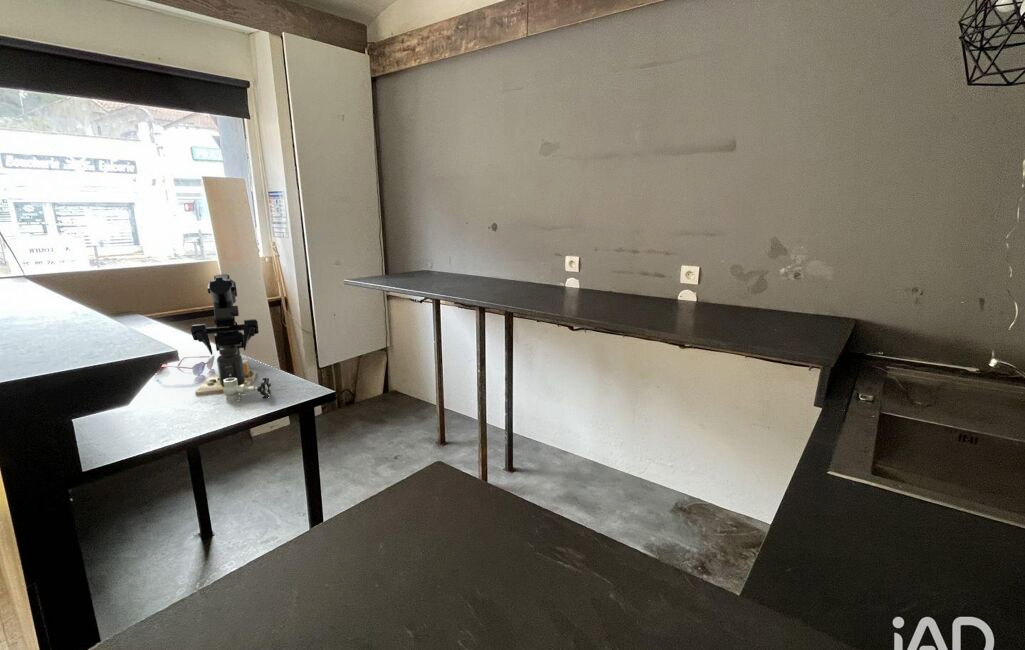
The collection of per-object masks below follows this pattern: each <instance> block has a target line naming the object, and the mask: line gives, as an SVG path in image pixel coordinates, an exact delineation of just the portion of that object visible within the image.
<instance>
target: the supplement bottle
mask: <svg viewBox="0 0 1025 650" xmlns="http://www.w3.org/2000/svg"><path fill="white" fill-rule="evenodd" d="M218 352H219V353H218V354H219V356H218V357H217V358H216V366H217V371H218V372H217V373H218V375H219V379H220V384H221V386H223V387H225V386H224V382H223V380H225V379H227V378H237V381H238V385H241V384H243V383H244V382H245V376H244V368H243V361H242V360H243V356H242V355H241V353H240V354H238V353H237V352H238V350H237V346H236V345H226V346H222V347H220V348H219V351H218Z"/></svg>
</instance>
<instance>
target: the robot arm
mask: <svg viewBox="0 0 1025 650" xmlns="http://www.w3.org/2000/svg"><path fill="white" fill-rule="evenodd" d="M213 278H214V279H210V280H209V282H208V283H207V294H209V295H211V296H210V297H211V299H212V305H213V313H214V316H213V324H214V326H210V327H207V326H206V323H199V324H192V325H191V327H190V333H191V335H192V339H193V340H194V341H198V342H199V343H203V344H204V345H205V347H206V349H207V350H208V351H209V354H210V355H211V356H212V355H213V349H212V344H211V342H210V338H209V334H213V336H214V344H215V348H216V352H219V348H220V347H222V346H226V345H236V346H237V350H238V352H237V353H238V354H240V355H241V349H243V351H244V352H245V351H246V350H247V347H248V344H249V341H250V340H251V339H252V338H253V337H254V336H256V334H259V331H260V330H259V324H258V320H257V319H255V318H252V319H250V318H249V319H243V324H238V322H237V321H236V317H239V316H240V313H239V306H238V305H234V304H235V303H236V302H237V299H236V297H238V291H237V282H235V281H234V280H233V279H231V278H230V274H227V273H225V274H223V273H221V274H215V275H213ZM242 331H243V332H242ZM242 360H245V359H243V358H242Z"/></svg>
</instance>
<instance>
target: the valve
mask: <svg viewBox="0 0 1025 650" xmlns="http://www.w3.org/2000/svg"><path fill="white" fill-rule="evenodd" d="M262 381H263V382H261V383H260V385H257V386H255V385H251V386H249V387H248V386H246V385H245V384H243V385H241V386H238V381H237V378H227V379H225V380H223V382H224V386H225V387H224V390H223V391H224V393H223V394H224V396H225V401H226V403H228V404H229V403H230V404H231V403H236V402H238V400H239V401H240V400H241V396H240V395H246V394H247V393H248V392H249V393H255V392H256V391H257V392H258V393H260V395H262V396H261V397H262V399H264V400H267V399H266V398H268V397H269V398H270V394H272V391H271V387H272V383H271V382H270V378H269V377H263V378H262Z"/></svg>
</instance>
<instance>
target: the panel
mask: <svg viewBox="0 0 1025 650" xmlns="http://www.w3.org/2000/svg"><path fill="white" fill-rule="evenodd" d="M244 376H245V382H244V383H243V384H245V385H246V386H248V387H249V386H250V385H251V384H253V383H254V381H255V380H256V378H257V377H258V372H257V371H253V370H250V373H249V375H244ZM256 376H257V377H256ZM255 377H256V378H255ZM254 379H255V380H254ZM252 382H253V383H252ZM243 384H241V385H243ZM241 385H238V386H241ZM251 386H252V385H251ZM223 390H224V387H223V386H221V384H220V379H219V374H217V375H216V374H215V375H210V376H208V377H207V379H206V380H205V381H204V382H203V383H202V384H201V385H200V387H198V389H197V390H196V391H195V393H194V394H195V396H196V397H198V396H199V397H200V396H208V395H209V396H211V395H221V394H224V391H223Z"/></svg>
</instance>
